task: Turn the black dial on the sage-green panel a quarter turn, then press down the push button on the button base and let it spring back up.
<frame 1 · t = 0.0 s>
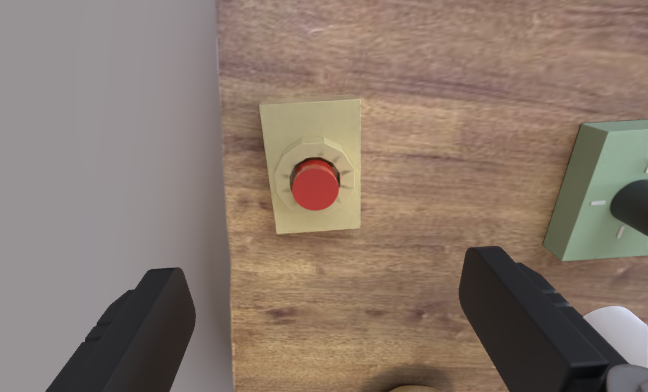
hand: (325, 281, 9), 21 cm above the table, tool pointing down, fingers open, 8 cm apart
container: (598, 327, 43), on the table
button base: (313, 160, 30), on the table
push button: (315, 184, 25), point 6 cm above the table, slide at 0.1 cm
dial panel: (606, 186, 33), on the table
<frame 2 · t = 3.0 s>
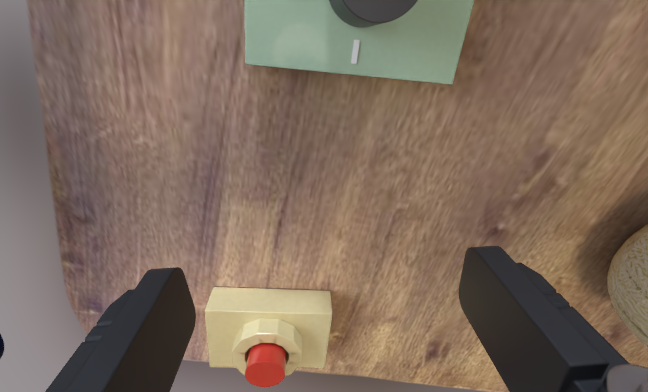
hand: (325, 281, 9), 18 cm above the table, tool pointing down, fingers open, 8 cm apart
button base: (271, 316, 34), on the table
push button: (266, 364, 29), point 6 cm above the table, slide at 0.1 cm
cantaloupe: (639, 244, 33), on the table
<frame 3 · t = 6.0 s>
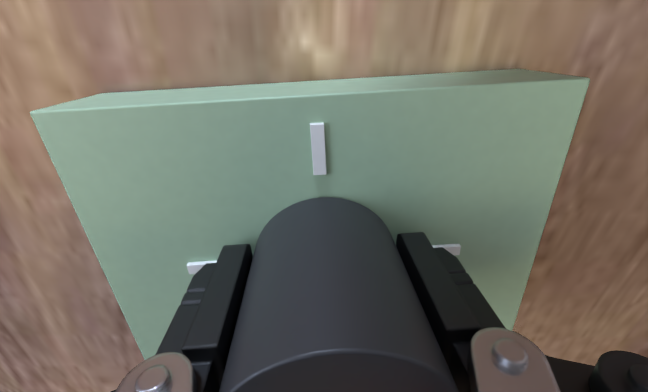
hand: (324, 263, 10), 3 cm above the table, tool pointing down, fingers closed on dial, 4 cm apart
dial: (330, 326, 8), point 6 cm above the table, hinge at -0.1°, touching gripper
dial panel: (321, 211, 13), on the table
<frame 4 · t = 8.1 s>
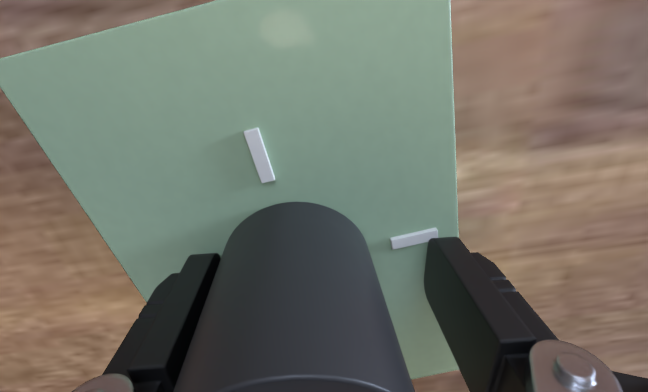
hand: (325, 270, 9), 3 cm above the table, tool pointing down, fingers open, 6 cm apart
dial: (296, 339, 7), point 6 cm above the table, hinge at 83.0°, touching gripper
dial panel: (298, 214, 12), on the table
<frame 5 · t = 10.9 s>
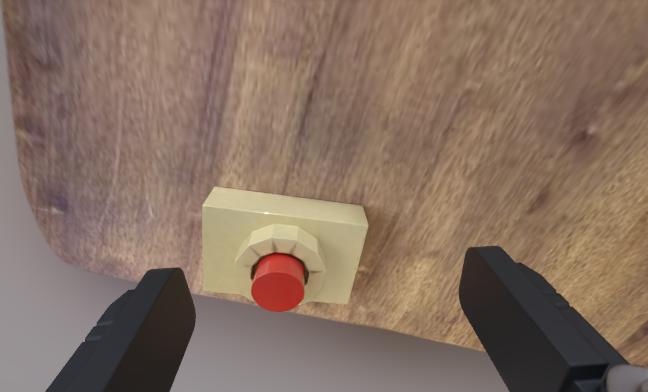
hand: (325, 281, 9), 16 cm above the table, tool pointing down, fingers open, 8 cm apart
button base: (285, 236, 27), on the table
push button: (279, 282, 22), point 6 cm above the table, slide at 0.1 cm
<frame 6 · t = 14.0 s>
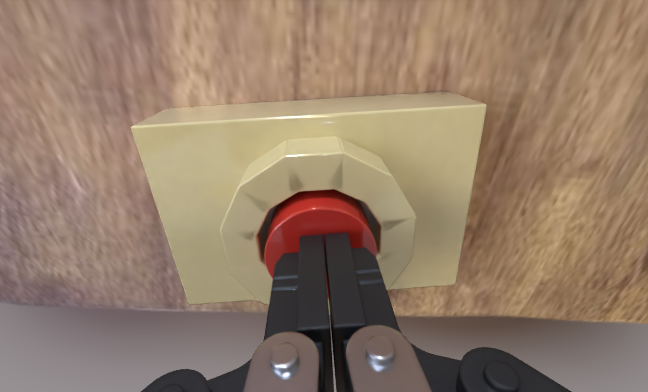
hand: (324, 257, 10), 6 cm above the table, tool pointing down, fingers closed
button base: (315, 184, 15), on the table
push button: (319, 239, 11), point 5 cm above the table, slide at -0.9 cm, touching gripper
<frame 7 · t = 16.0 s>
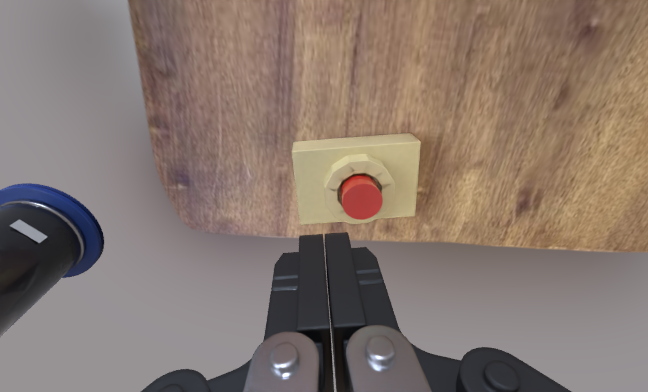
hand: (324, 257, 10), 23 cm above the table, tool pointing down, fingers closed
button base: (353, 173, 33), on the table
push button: (360, 197, 28), point 6 cm above the table, slide at 0.1 cm
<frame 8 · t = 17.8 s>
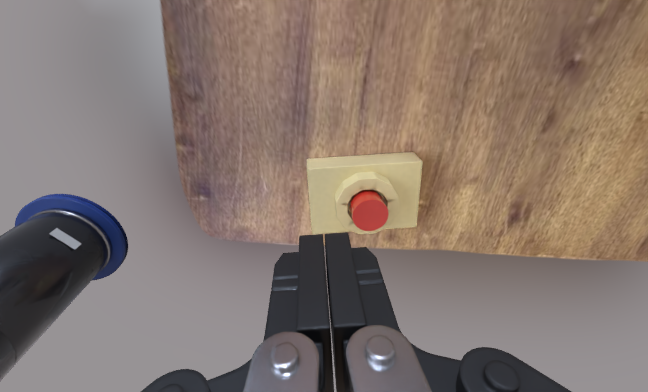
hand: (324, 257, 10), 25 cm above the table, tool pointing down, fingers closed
button base: (360, 187, 37), on the table
push button: (368, 210, 32), point 6 cm above the table, slide at 0.1 cm
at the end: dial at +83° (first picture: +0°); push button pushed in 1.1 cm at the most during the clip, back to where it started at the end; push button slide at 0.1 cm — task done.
